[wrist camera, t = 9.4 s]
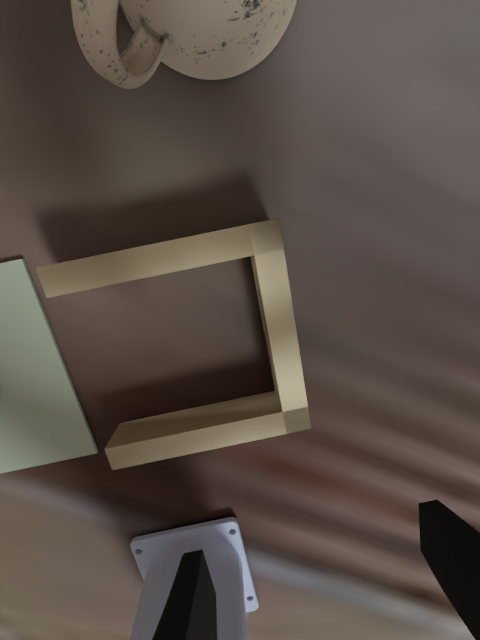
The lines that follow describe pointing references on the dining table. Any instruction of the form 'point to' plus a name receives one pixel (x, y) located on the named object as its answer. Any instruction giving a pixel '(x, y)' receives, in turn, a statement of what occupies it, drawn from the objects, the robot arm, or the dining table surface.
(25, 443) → the felt mat
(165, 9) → the teacup with lid
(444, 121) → the dining table surface
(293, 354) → the frame
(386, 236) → the dining table surface
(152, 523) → the dining table surface
